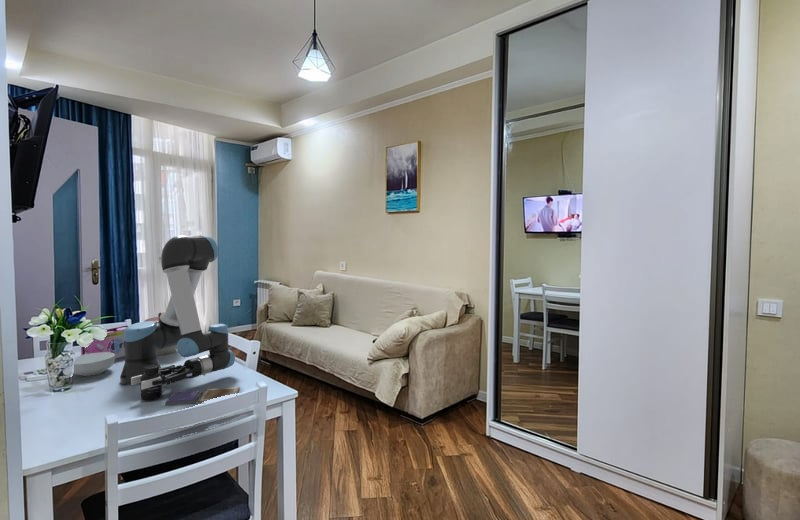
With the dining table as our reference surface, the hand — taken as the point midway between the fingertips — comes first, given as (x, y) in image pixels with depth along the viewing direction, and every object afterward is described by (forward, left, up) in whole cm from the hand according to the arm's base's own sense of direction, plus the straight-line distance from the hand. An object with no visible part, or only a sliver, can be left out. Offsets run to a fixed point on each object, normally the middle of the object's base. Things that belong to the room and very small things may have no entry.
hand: (136, 383), depth 149 cm
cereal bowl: (-32, +40, -8) cm, 52 cm away
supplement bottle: (+4, +4, -7) cm, 9 cm away
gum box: (-36, +64, -8) cm, 74 cm away
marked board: (+28, +2, -7) cm, 29 cm away
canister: (-13, +69, -8) cm, 70 cm away
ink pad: (+16, +1, -7) cm, 17 cm away
